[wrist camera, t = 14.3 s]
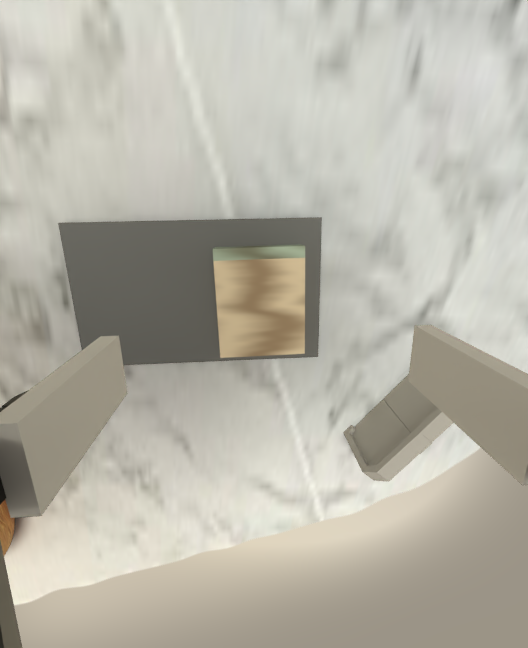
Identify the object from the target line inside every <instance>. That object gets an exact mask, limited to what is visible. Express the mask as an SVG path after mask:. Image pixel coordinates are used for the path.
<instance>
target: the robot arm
mask: <svg viewBox="0 0 528 648" xmlns="http://www.w3.org/2000/svg"><path fill="white" fill-rule="evenodd" d="M408 381H409V382H410V383H411V384H412V385H413V386H414V387H415V388H417V389H418V390H419V391H420V392H421V393H422V394H423V395H424V396H425V397H426V398H427V399H429V400H430V401H431V402H432V403H433V404H434V405H435V406H436V407H437V408H438V409H439V410H441V411H442V412H443V413H444V414H445V415H446V416H447V417H448V418H449V419H450V420H452V421H453V422H454V423H455V424H456V425H457V426H458V427H459V428H460V429H461V430H462V431H464V432H465V433H466V434H467V435H468V436H469V437H470V438H471V439H472V440H473V441H474V442H476V443H477V444H478V445H479V446H480V447H481V448H482V449H483V450H484V451H485V452H486V453H488V454H489V455H490V456H491V457H492V458H493V459H494V460H495V461H496V462H497V463H498V464H500V465H501V466H502V467H503V468H504V469H505V470H506V471H507V472H508V473H510V474H511V475H512V476H513V477H514V478H515V479H516V480H517V481H518V482H519V483H520V484H521V485H528V374H527V373H525V372H523V371H521V370H519V369H517V368H515V367H513V366H511V365H509V364H507V363H505V362H503V361H501V360H499V359H497V358H495V357H493V356H491V355H489V354H487V353H485V352H483V351H481V350H479V349H477V348H476V347H474V346H472V345H470V344H468V343H466V342H464V341H462V340H460V339H458V338H456V337H454V336H452V335H450V334H448V333H446V332H444V331H442V330H440V329H438V328H436V327H434V326H432V325H415V327H414V336H413V344H412V353H411V361H410V370H409V378H408ZM126 395H127V387H126V380H125V373H124V367H123V360H122V353H121V346H120V340H119V336H100V337H99V338H98V339H96V340H95V341H94V342H92V343H91V344H90V345H88V346H87V347H86V348H85V349H83V350H82V351H81V352H79V353H78V354H77V355H75V356H74V357H73V358H71V359H70V360H69V361H67V362H66V363H65V364H63V365H62V366H61V367H59V368H58V369H57V370H55V371H54V372H53V373H51V374H50V375H49V376H47V377H46V378H45V379H43V380H42V381H41V382H39V383H38V384H37V385H35V386H34V387H33V388H32V389H30V390H28V391H26V392H24V393H22V394H20V395H18V396H15V397H14V398H12V399H11V400H10V401H8V402H7V403H5V404H4V405H3V406H2V408H0V505H1V503H2V502H3V501H4V500H6V504H7V507H8V511H9V514H10V518H17V517H33V516H42V514H43V513H44V511H45V510H46V509H47V507H48V506H49V504H50V503H51V501H52V500H53V499H54V497H55V496H56V494H57V493H58V491H59V490H60V489H61V487H62V486H63V484H64V483H65V481H66V480H67V479H68V477H69V476H70V474H71V473H72V472H73V470H74V469H75V467H76V466H77V464H78V463H79V462H80V460H81V459H82V457H83V456H84V454H85V453H86V452H87V450H88V449H89V447H90V446H91V444H92V443H93V442H94V440H95V439H96V437H97V436H98V434H99V433H100V432H101V430H102V429H103V427H104V426H105V424H106V423H107V422H108V420H109V419H110V417H111V416H112V415H113V413H114V412H115V410H116V409H117V407H118V406H119V405H120V403H121V402H122V400H123V399H124V397H125V396H126ZM0 648H22V644H21V640H20V634H19V629H18V624H17V620H16V614H15V609H14V605H13V600H12V595H11V590H10V585H9V580H8V575H7V570H6V565H5V560H4V555H3V550H2V545H1V541H0Z"/></svg>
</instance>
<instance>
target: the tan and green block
mask: <svg viewBox="0 0 528 648" xmlns="http://www.w3.org/2000/svg"><path fill="white" fill-rule="evenodd" d="M213 263H214V277H215V290H216V304H217V318H218V332H219V346H220V358H229V357H249V356H269V355H289V354H305V246H304V245H300V244H299V245H269V246H240V247H215V248H214V249H213Z"/></svg>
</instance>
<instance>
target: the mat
mask: <svg viewBox="0 0 528 648" xmlns="http://www.w3.org/2000/svg"><path fill="white" fill-rule="evenodd" d="M321 221H322V218H276V219H228V220H179V221H131V222H83V223H58V224H59V230H60V235H61V240H62V246H63V251H64V256H65V262H66V267H67V272H68V278H69V283H70V288H71V294H72V299H73V304H74V310H75V315H76V320H77V326H78V331H79V336H80V342H81V347H82V350H83V349H85V348H86V347H87V346H88V345H90V344H91V343H92V342H94V341H95V340H96V339H98V338H99V337H100V336H119V340H120V346H121V353H122V360H123V365H134V364H157V363H181V362H205V361H229V360H253V359H276V358H300V357H318V336H319V298H320V260H321ZM299 244H300V245H304V246H305V354H289V355H269V356H249V357H229V358H220V346H219V332H218V318H217V304H216V290H215V277H214V263H213V249H214V248H215V247H240V246H269V245H299Z"/></svg>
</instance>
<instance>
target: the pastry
mask: <svg viewBox="0 0 528 648" xmlns="http://www.w3.org/2000/svg"><path fill="white" fill-rule="evenodd" d="M14 525H15V518H10V514H9V511H8V507H7V504H6V500H4V501H3V502H2V503H1V505H0V541H1V545H2V550H3V555H5V554H6V552H7V550H8V548H9V546H10V544H11V540H12V537H13V534H14Z"/></svg>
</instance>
